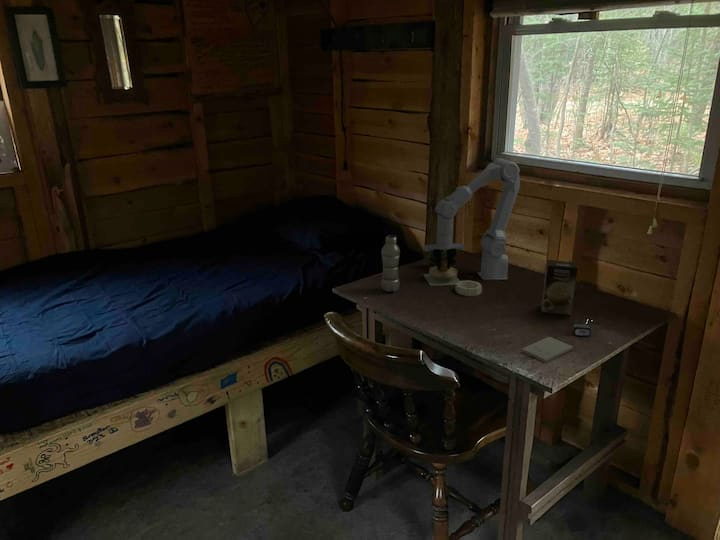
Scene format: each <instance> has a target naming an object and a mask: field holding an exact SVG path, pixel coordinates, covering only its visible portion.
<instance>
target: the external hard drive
mask: <svg viewBox="0 0 720 540" xmlns="http://www.w3.org/2000/svg"><path fill="white" fill-rule="evenodd" d="M571 350H572V351H573V350H574V346H573V345H571V344H568V343H566V342H563V341H561V340H558V339H556V338H553V337H551V336H547V337H545V338H543V339H540V340H538V341H537V342H536V341H535V342H534V343H532V344H529V345H527V346H525V347H522V348H521V349H520V352H521V353H523V354H524V355H525V354H526V355H528V356H530V357H533V358H535V359H536V360H538V361H541V362H543V363H545V364H546V363H548V362H551V361H553V360H555V359H557V358H560V357H561V356H563V355H566V354H567V352H568V353H570V352H572V351H571ZM569 351H570V352H569ZM565 353H566V354H565Z"/></svg>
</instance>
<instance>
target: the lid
mask: <svg viewBox="0 0 720 540" xmlns="http://www.w3.org/2000/svg"><path fill="white" fill-rule="evenodd" d="M447 268H448V258H441V260H440V270H438V269H437V266H435V267H431V268H429V270H428V274H430V275H431V276H433V277H437V278H453V277H455V276H457V277H458V269H456V268H455V267H451V266H450V269H447Z"/></svg>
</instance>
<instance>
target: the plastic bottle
mask: <svg viewBox="0 0 720 540" xmlns="http://www.w3.org/2000/svg"><path fill="white" fill-rule="evenodd" d="M397 239H398V238H397V235H393V234H391V235H389V234H388V235H386V236H385V244H384V245H383V247H382V248H381V251H380V252H381V259H382V276H381V283H380V285H381V289H382V290H383V291H384V292H387V293H394V292H397V291H398V290H399V289H400V284H401V282H400V277H399V275H400V274H399V266H400V265H399V264H400V263H399V261H400V258H401V257H400V255H401V250H400V247H399V246H398V244H397Z"/></svg>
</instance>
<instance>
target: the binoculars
mask: <svg viewBox="0 0 720 540" xmlns="http://www.w3.org/2000/svg"><path fill="white" fill-rule="evenodd" d="M436 243H437V241H436V242H434V241H433V242H432V244H436ZM440 253H441V258H447V251H445V250H440ZM428 260H429V265H428V268H429V269H430V268H431V267H435V266H437V264H436V260H435V257H434V254H433V252H432V251H430V254H429V259H428ZM456 263H457V262H456V259H455V258H454V259H453V261H452V263H451V266H452V265H453V266H454V265H456Z"/></svg>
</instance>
